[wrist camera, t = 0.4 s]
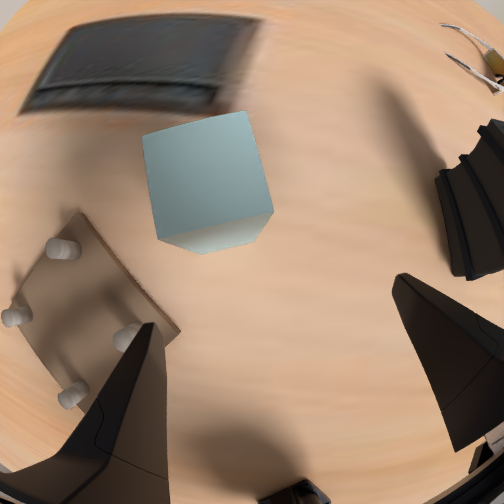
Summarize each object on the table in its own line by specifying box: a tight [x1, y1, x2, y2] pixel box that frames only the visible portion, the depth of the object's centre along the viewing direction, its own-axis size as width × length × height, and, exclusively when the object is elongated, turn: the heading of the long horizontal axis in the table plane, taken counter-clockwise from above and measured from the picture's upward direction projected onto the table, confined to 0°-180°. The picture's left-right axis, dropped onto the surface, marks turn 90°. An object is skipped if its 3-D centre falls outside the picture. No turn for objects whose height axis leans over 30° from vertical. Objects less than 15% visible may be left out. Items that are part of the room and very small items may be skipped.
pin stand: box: [1, 212, 181, 414], centre depth 20 cm, size 14×14×5 cm
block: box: [142, 110, 274, 255], centre depth 17 cm, size 4×4×13 cm
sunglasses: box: [439, 24, 504, 95], centre depth 26 cm, size 14×15×5 cm
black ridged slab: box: [435, 119, 504, 281], centre depth 19 cm, size 4×13×15 cm, turn 10°
